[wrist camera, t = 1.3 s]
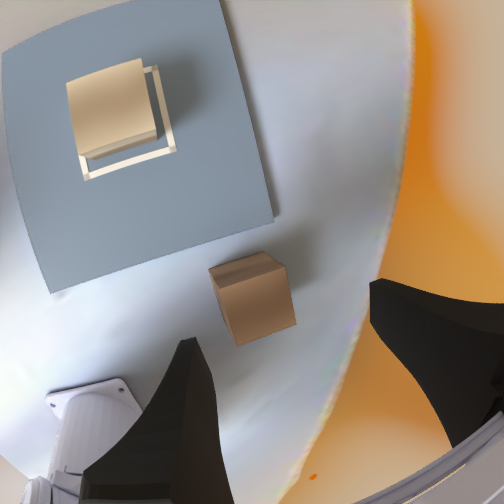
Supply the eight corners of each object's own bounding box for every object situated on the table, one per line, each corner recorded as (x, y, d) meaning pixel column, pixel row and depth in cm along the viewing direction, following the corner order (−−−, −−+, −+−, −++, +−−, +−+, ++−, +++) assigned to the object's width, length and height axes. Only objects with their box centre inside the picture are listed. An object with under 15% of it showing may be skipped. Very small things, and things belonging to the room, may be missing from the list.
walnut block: (274, 301, 22) (296, 324, 19) (223, 318, 21) (237, 346, 18) (262, 251, 21) (285, 266, 17) (208, 269, 20) (219, 289, 17)
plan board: (270, 220, 21) (274, 221, 20) (53, 289, 17) (50, 294, 16) (212, -8, 15) (215, -13, 14) (6, 56, 12) (1, 52, 11)
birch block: (157, 140, 17) (156, 129, 13) (95, 160, 16) (78, 155, 12) (144, 82, 15) (141, 58, 12) (83, 101, 14) (66, 83, 11)
